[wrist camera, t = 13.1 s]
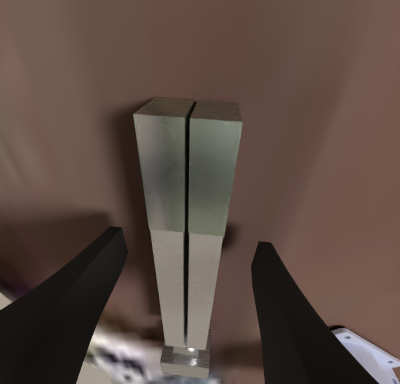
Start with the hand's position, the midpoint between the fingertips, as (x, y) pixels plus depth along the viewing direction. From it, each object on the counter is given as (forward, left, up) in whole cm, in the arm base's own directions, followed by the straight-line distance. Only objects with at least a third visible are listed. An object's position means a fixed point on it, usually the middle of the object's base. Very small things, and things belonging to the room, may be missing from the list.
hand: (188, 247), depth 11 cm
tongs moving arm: (-2, +3, -1) cm, 4 cm away
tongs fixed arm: (-3, +4, -2) cm, 5 cm away
